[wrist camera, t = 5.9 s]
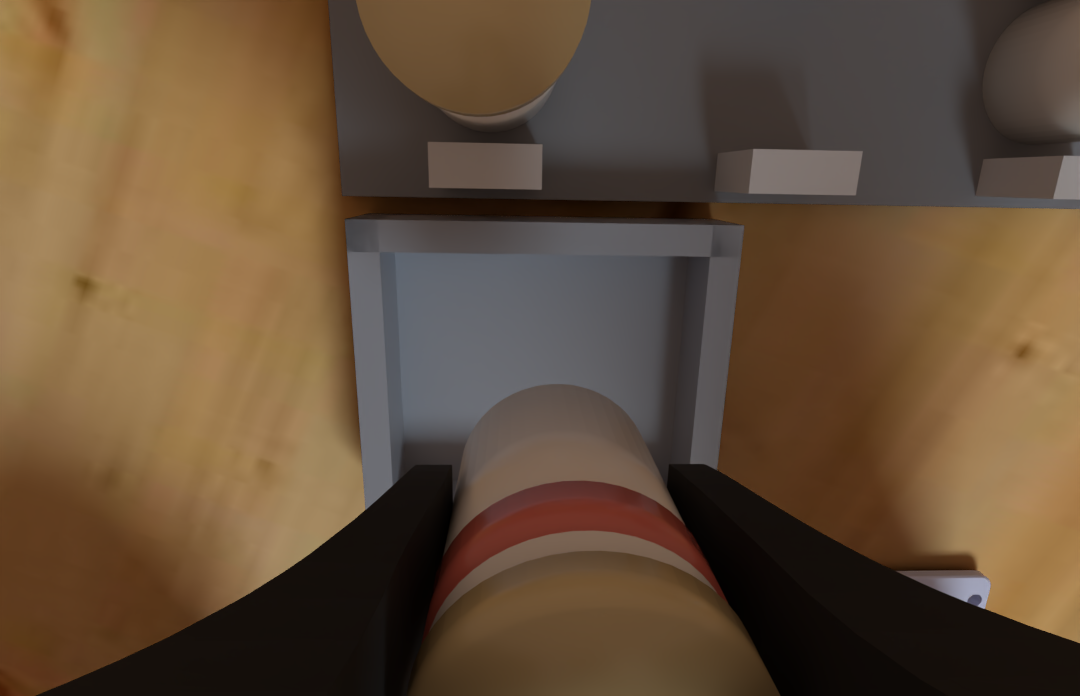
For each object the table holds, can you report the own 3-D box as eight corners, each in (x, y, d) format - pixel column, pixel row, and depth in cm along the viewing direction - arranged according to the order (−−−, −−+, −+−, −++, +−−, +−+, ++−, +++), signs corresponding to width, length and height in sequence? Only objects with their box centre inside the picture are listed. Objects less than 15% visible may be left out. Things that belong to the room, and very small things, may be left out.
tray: (686, 492, 20) (709, 535, 17) (385, 493, 19) (367, 538, 17) (712, 218, 17) (744, 225, 15) (368, 213, 17) (344, 219, 14)
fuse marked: (641, 559, 12) (758, 914, 6) (453, 554, 12) (394, 915, 6) (663, 383, 11) (827, 611, 5) (458, 374, 11) (390, 602, 5)
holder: (1123, 208, 18) (1255, 215, 15) (349, 195, 17) (311, 198, 14) (1199, -59, 16) (1370, -118, 13) (330, -93, 15) (279, -167, 12)
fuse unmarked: (560, 138, 16) (587, 115, 10) (417, 134, 16) (361, 109, 10) (565, -23, 15) (597, -153, 9) (412, -28, 15) (344, -164, 9)
